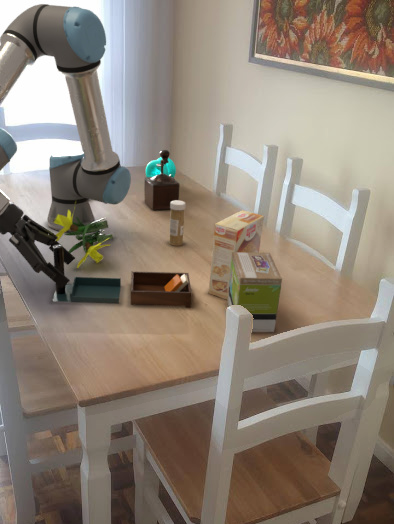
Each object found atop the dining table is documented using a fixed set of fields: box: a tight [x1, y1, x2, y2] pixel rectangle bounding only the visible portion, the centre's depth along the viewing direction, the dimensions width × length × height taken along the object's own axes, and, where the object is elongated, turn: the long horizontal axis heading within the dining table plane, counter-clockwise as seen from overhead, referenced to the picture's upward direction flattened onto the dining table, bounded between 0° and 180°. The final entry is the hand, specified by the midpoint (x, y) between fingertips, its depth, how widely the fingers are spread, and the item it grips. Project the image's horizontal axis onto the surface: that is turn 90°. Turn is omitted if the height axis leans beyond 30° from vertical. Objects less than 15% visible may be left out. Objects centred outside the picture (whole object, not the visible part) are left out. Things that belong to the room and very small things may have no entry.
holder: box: [130, 271, 193, 308], centre depth 149 cm, size 12×15×4 cm
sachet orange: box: [164, 274, 183, 292], centre depth 150 cm, size 4×5×1 cm
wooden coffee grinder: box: [143, 149, 180, 211], centre depth 210 cm, size 16×11×18 cm
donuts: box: [145, 156, 177, 179], centre depth 234 cm, size 10×10×10 cm
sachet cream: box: [175, 274, 189, 292], centre depth 150 cm, size 4×5×1 cm
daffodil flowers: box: [54, 202, 114, 269], centre depth 165 cm, size 17×15×35 cm
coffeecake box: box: [207, 209, 265, 301], centre depth 152 cm, size 15×7×20 cm, turn 148°
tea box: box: [227, 252, 283, 333], centre depth 139 cm, size 15×10×15 cm, turn 5°
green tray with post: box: [51, 244, 122, 304], centre depth 144 cm, size 10×16×13 cm, turn 94°
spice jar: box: [168, 199, 186, 247], centre depth 178 cm, size 5×5×14 cm
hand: (69, 272), depth 144 cm, fingers open, 13 cm apart
